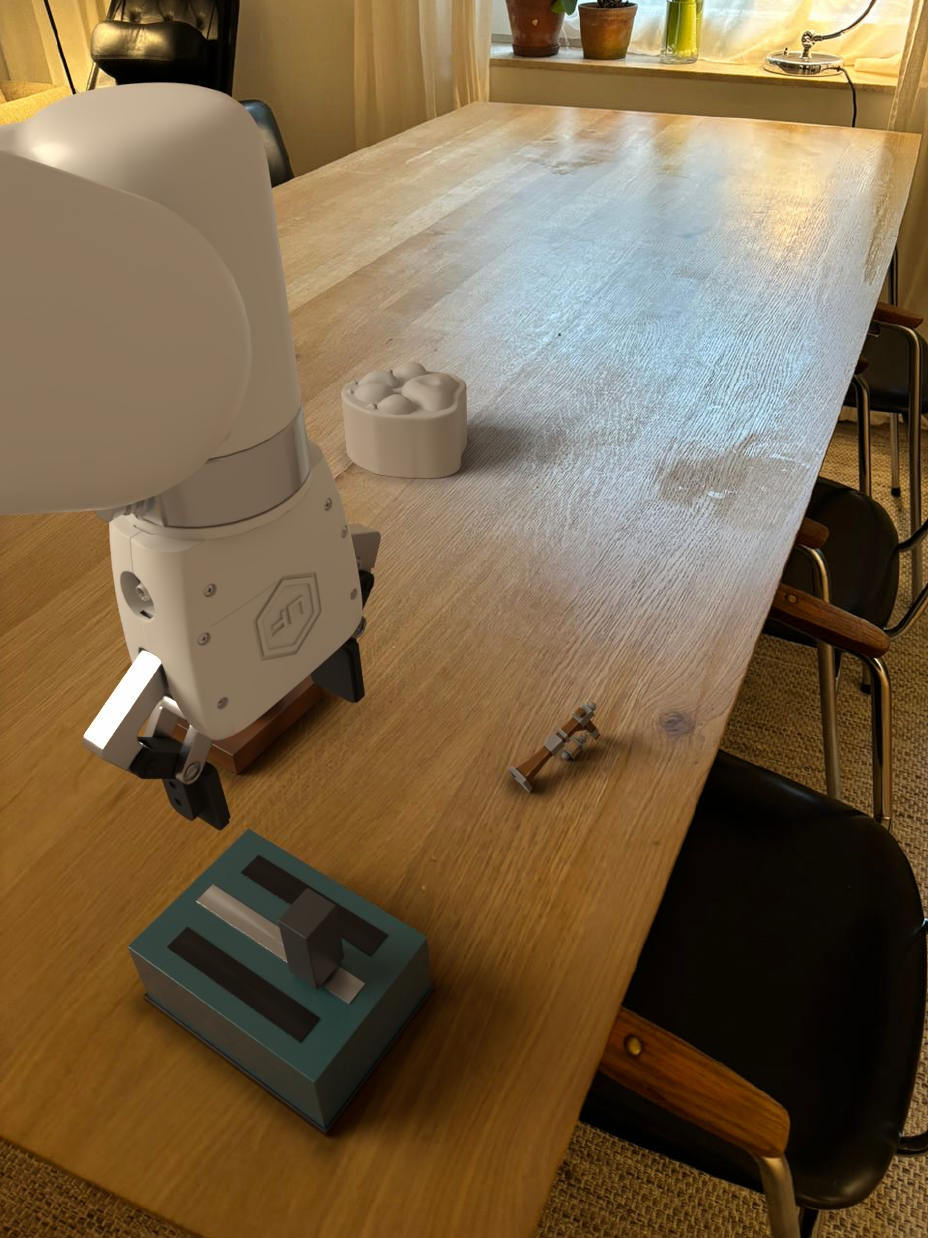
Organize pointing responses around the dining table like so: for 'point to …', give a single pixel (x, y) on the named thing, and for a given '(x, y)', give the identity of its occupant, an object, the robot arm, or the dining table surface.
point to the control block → (259, 728)
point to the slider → (311, 938)
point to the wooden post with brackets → (558, 745)
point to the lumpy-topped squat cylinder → (406, 422)
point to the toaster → (283, 980)
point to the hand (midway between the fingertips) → (274, 748)
